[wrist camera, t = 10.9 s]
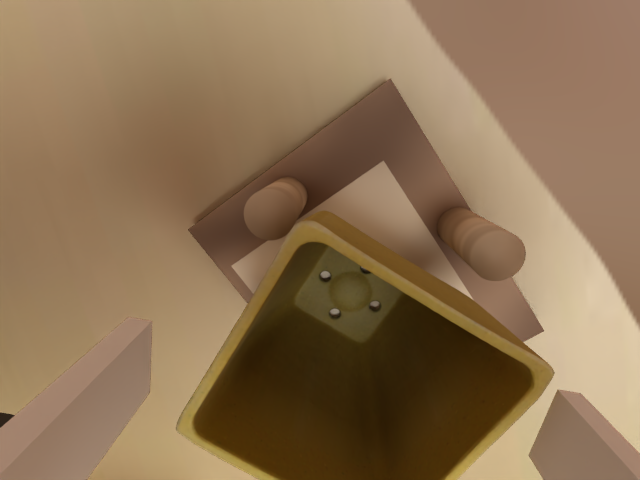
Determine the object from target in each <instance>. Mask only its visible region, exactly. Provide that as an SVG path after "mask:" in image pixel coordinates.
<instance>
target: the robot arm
mask: <svg viewBox="0 0 640 480" xmlns="http://www.w3.org/2000/svg"><path fill="white" fill-rule="evenodd" d="M151 345H152V321H150V320H144V319H138V318H132V317H128V318H126V319H125V320H124V321H123V322H122V323H121V324H120V325H118V326H117V327H116V328H115V329H114V330H113V331H111V332H110V333H109V334H108V335H107V336H106V337H105V338H103V339H102V340H101V341H100V342H99V343H98V344H96V345H95V346H94V347H93V348H92V349H91V350H90V351H88V352H87V353H86V354H85V355H84V356H83V357H81V358H80V359H79V360H78V361H77V362H76V363H75V364H73V365H72V366H71V367H70V368H69V369H68V370H67V371H65V372H64V373H63V374H62V375H61V376H60V377H58V378H57V379H56V380H55V381H54V382H53V383H52V384H50V385H49V386H48V387H47V388H46V389H45V390H43V391H42V392H41V393H40V394H39V395H38V396H37V397H35V398H34V399H33V400H32V401H31V402H30V403H29V404H27V405H26V406H25V407H24V408H23V409H22V410H20V411H19V412H18V413H17V414H16V415H12V414H6V413H0V480H87V479H88V477H89V476H90V475H91V473H92V472H93V471H94V469H95V468H96V466H97V465H98V464H99V462H100V461H101V459H102V458H103V457H104V455H105V454H106V453H107V451H108V450H109V448H110V447H111V446H112V444H113V443H114V441H115V440H116V439H117V437H118V436H119V435H120V433H121V432H122V430H123V429H124V428H125V426H126V425H127V423H128V422H129V421H130V419H131V418H132V417H133V415H134V414H135V412H136V411H137V410H138V408H139V407H140V405H141V404H142V403H143V401H144V400H145V399H146V397H147V396H148V394H149V393H150V374H151ZM529 457H530V458H531V460H532V462H533V463H534V465H535V467H536V468H537V470H538V471H539V473H540V475H541V476H542V478H543V479H544V480H640V453H639V452H638V451H637V450H636V449H635V448H634V447H633V446H632V445H631V444H630V443H629V442H628V441H627V440H626V439H625V438H624V437H623V436H622V435H621V434H620V433H619V432H618V431H617V430H616V429H615V428H614V427H613V426H612V425H611V424H610V423H609V422H608V421H607V420H606V419H605V418H604V417H603V415H602V414H601V413H600V412H599V411H598V410H597V409H596V408H595V407H594V406H593V405H592V404H591V403H590V402H589V401H588V400H587V399H586V398H585V397H584V396H583V395H582V394H581V393H576V392H570V391H564V390H557V392H556V394H555V397H554V399H553V401H552V403H551V406H550V408H549V410H548V413H547V415H546V417H545V419H544V422H543V424H542V426H541V428H540V431H539V433H538V435H537V438H536V440H535V442H534V444H533V447H532V449H531V451H530V453H529Z"/></svg>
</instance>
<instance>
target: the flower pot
mask: <svg viewBox="0 0 640 480" xmlns="http://www.w3.org/2000/svg"><path fill="white" fill-rule="evenodd" d="M361 266H362V267H363V268H365V269H366V270H368V271H370V272H363V271H362V270H361ZM324 271H327V272H329V273H330V275H331V277H330V279H329V280H322V278H321V276H320V274H321V273H322V272H324ZM373 301H378V302H379V303H380V307H379V308H378V309H376V310H373V309H371V308H370V303H371V302H373ZM332 309H338V310H339V311H340V314H339V316H337V317H332V316H331V315H330V311H331V310H332ZM553 376H554V371H553V368H552V367H551V366H550V365H549V364H548V363H547V362H546V361H545V360H543V359H542V358H541V357H540V356H538V355H537V354H536V353H535V352H534V351H533V350H531V349H530V348H529V347H528V346H527V345H525V344H524V343H523V342H522V341H521V340H520V339H519V338H517V337H516V336H515V335H514V334H513V333H512V332H511V331H510V330H508V329H507V328H506V327H505V326H504V325H502V324H501V323H500V322H499V321H498V320H497V319H495V318H494V317H493V316H492V315H491V314H490V313H488V312H487V311H486V310H485V309H484V308H482V307H481V306H480V305H479V304H478V303H476V302H475V301H474V300H472V299H471V298H470V297H468V296H467V295H465V294H464V293H462V292H461V291H459V290H457V289H456V288H454V287H452V286H450V285H449V284H447V283H445V282H443V281H442V280H440V279H438V278H437V277H435V276H433V275H432V274H430V273H428V272H427V271H425V270H423V269H421V268H420V267H418V266H416V265H415V264H413V263H411V262H410V261H408V260H407V259H405V258H403V257H402V256H400V255H399V254H397V253H395V252H394V251H392V250H390V249H389V248H387V247H386V246H384V245H382V244H381V243H379V242H378V241H376V240H374V239H373V238H371V237H370V236H368V235H366V234H365V233H363V232H362V231H360V230H359V229H357V228H355V227H354V226H352V225H351V224H349V223H348V222H346V221H345V220H343V219H342V218H340V217H338V216H337V215H335V214H333V213H331V212H329V211H319V212H317V213H315V214H313V215H311V216H309V217H307V218H305V219H304V220H302V221H300V222H298V223H297V224H296V225H295V226H293V228H292V229H291V231H290V232H289V234H288V235H287V237H286V239H285V240H284V242H283V244H282V246H281V248H280V249H279V251H278V253H277V255H276V256H275V258H274V260H273V262H272V263H271V265H270V267H269V269H268V270H267V272H266V274H265V275H264V277H263V279H262V280H261V282H260V284H259V285H258V287H257V289H256V291H255V292H254V294H253V296H252V297H251V299H250V301H249V303H248V304H247V306H246V308H245V310H244V311H243V313H242V314H241V316H240V318H239V319H238V321H237V323H236V324H235V326H234V328H233V329H232V331H231V333H230V334H229V336H228V338H227V339H226V341H225V343H224V344H223V346H222V348H221V349H220V351H219V352H218V354H217V356H216V357H215V359H214V361H213V363H212V364H211V366H210V368H209V369H208V371H207V372H206V374H205V376H204V377H203V379H202V381H201V382H200V384H199V386H198V387H197V389H196V391H195V392H194V394H193V396H192V397H191V399H190V400H189V402H188V404H187V405H186V407H185V408H184V410H183V412H182V414H181V416H180V417H179V419H178V422H177V426H176V430H177V432H178V433H179V434H181V435H182V436H184V437H185V438H186V439H188V440H189V441H191V442H192V443H194V444H195V445H197V446H199V447H200V448H202V449H204V450H206V451H207V452H209V453H211V454H212V455H214V456H216V457H218V458H219V459H221V460H223V461H225V462H227V463H229V464H231V465H232V466H234V467H236V468H238V469H240V470H242V471H244V472H246V473H248V474H249V475H251V476H253V477H255V478H257V479H259V480H458V478H459V477H460V476H461V475H462V474H463V473H464V472H465V471H466V470H467V469H468V468H469V467H470V466H471V465H472V464H473V463H474V462H475V461H476V460H477V459H478V458H479V457H480V456H481V455H482V454H483V453H484V452H485V451H486V450H487V449H488V448H489V447H490V446H491V445H492V444H493V443H494V442H495V441H496V440H498V439H499V438H500V437H501V436H502V435H503V434H504V433H505V432H506V431H507V430H508V429H509V428H510V427H511V426H512V425H513V424H514V423H515V422H516V421H517V420H518V419H519V418H520V417H521V416H522V415H523V414H524V413H525V412H526V411H527V410H528V409H529V407H530V406H532V405H533V404H534V403H535V402H536V401H537V400H538V398H539V397H540V396H541V395H542V393H543V392H544V390H545V389H546V387H547V386H548V384H549V383H550V381H551V379H552V377H553Z"/></svg>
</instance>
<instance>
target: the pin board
mask: <svg viewBox="0 0 640 480" xmlns="http://www.w3.org/2000/svg"><path fill="white" fill-rule="evenodd" d="M319 211H329V212H331V213H333V214H335V215H337V216H338V217H340V218H342V219H343V220H345V221H346V222H348V223H349V224H351V225H352V226H354V227H355V228H357V229H359V230H360V231H362V232H363V233H365V234H366V235H368V236H370V237H371V238H373V239H374V240H376V241H378V242H379V243H381V244H382V245H384V246H386V247H387V248H389V249H390V250H392V251H394V252H395V253H397V254H399V255H400V256H402V257H403V258H405V259H407V260H408V261H410V262H411V263H413V264H415V265H416V266H418V267H420V268H421V269H423V270H425V271H427V272H428V273H430V274H432V275H433V276H435V277H437V278H438V279H440V280H442V281H443V282H445V283H447V284H449V285H450V286H452V287H454V288H456V289H457V290H459V291H461V292H462V293H464V294H465V295H467V296H468V297H470V298H471V299H472V300H474V301H475V302H476V303H478V304H479V305H480V306H481V307H482V308H484V309H485V310H486V311H487V312H488V313H490V314H491V315H492V316H493V317H494V318H495V319H497V320H498V321H499V322H500V323H501V324H502V325H504V326H505V327H506V328H507V329H508V330H510V331H511V332H512V333H513V334H514V335H515V336H516V337H517V338H519V339H520V340H521V341H522V342H524V341H526V340H528V339H530V338H532V337H534V336H536V335H537V334H539V333H541V332H543V331H544V330H543V328H542V326H541V325H540V323H539V321H538V320H537V318H536V317H535V315H534V313H533V312H532V310H531V308H530V307H529V305H528V303H527V302H526V300H525V299H524V297H523V295H522V294H521V292H520V290H519V289H518V287H517V285H516V284H515V282H514V280H513V279H512V276H513V275H515V274H516V273H517V272H518V271H519V270H520V268H521V267H522V265H523V263H524V260H525V255H526V252H525V247H524V244H523V242H522V241H521V240H520V239H519V238H518V237H517V236H516V235H514V234H512V233H510V232H508V231H506V230H505V229H503V228H501V227H499V226H497V225H495V224H493V223H492V222H490V221H488V220H486V219H484V218H482V217H480V216H479V215H477V214H475V213H473V212H471V210H470V208H469V207H468V205H467V203H466V202H465V200H464V198H463V197H462V195H461V193H460V192H459V190H458V189H457V187H456V185H455V184H454V182H453V180H452V179H451V177H450V175H449V174H448V172H447V171H446V169H445V167H444V166H443V164H442V162H441V161H440V159H439V157H438V156H437V154H436V152H435V151H434V149H433V148H432V146H431V144H430V143H429V141H428V139H427V138H426V136H425V134H424V133H423V131H422V130H421V128H420V126H419V125H418V123H417V121H416V120H415V118H414V116H413V115H412V113H411V111H410V110H409V108H408V107H407V105H406V103H405V102H404V100H403V98H402V97H401V95H400V93H399V92H398V90H397V88H396V87H395V85H394V84H393V82H392V80H391V79H389V80H388V81H386V82H385V83H384V84H382V85H381V86H380V87H378V88H377V89H376V90H374V91H373V92H372V93H370V94H369V95H368V96H366V97H365V98H364V99H362V100H361V101H360V102H358V103H357V104H355V105H354V106H353V107H351V108H350V109H349V110H347V111H346V112H345V113H343V114H342V115H341V116H339V117H338V118H337V119H335V120H334V121H333V122H331V123H330V124H329V125H327V126H326V127H325V128H323V129H322V130H321V131H319V132H318V133H317V134H315V135H314V136H313V137H311V138H310V139H309V140H307V141H306V142H305V143H303V144H302V145H301V146H299V147H298V148H297V149H295V150H294V151H293V152H291V153H290V154H288V155H287V156H286V157H284V158H283V159H282V160H280V161H279V162H278V163H276V164H275V165H274V166H272V167H271V168H270V169H268V170H267V171H266V172H264V173H263V174H262V175H260V176H259V177H258V178H256V179H255V180H254V181H252V182H251V183H250V184H248V185H247V186H246V187H244V188H243V189H242V190H240V191H239V192H238V193H236V194H235V195H234V196H232V197H231V198H230V199H228V200H227V201H226V202H224V203H223V204H221V205H220V206H219V207H217V208H216V209H215V210H213V211H212V212H211V213H209V214H208V215H207V216H205V217H204V218H203V219H201V220H200V221H199V222H197V223H196V224H195V225H193V226H192V227H191V228H189V229H188V230H189V232H190V233H191V234H192V235H193V237H194V238H195V239H196V240H197V242H198V243H199V244H200V245H201V246H202V248H203V249H204V250H205V251H206V253H207V254H208V255H209V256H210V258H211V259H212V260H213V261H214V262H215V264H216V265H217V266H218V267H219V269H220V270H221V271H222V272H223V274H224V275H225V276H226V277H227V278H228V280H229V281H230V282H231V283H232V285H233V286H234V287H235V288H236V290H237V291H238V292H239V293H240V295H241V296H242V297H243V298H244V299H245V301H246V302H247V303H249V301H250V299H251V297H252V296H253V294H254V292H255V291H256V289H257V287H258V285H259V284H260V282H261V280H262V279H263V277H264V275H265V274H266V272H267V270H268V269H269V267H270V265H271V263H272V262H273V260H274V258H275V256H276V255H277V253H278V251H279V249H280V248H281V246H282V244H283V242H284V240H285V239H286V237H287V235H288V234H289V232H290V231H291V229H292V228H293V226H295V225H296V224H297V223H298V222H300V221H302V220H304V219H305V218H307V217H309V216H311V215H313V214H315V213H317V212H319ZM361 270H362V271H363V272H370V271H368V270H366V269H365V268H363V267H362V266H361ZM320 276H321V278H322V280H329V279H330V277H331V275H330V273H329V272H327V271H324V272H322V273H321V274H320ZM379 307H380V303H379V302H378V301H373V302H371V303H370V308H371V309H373V310H376V309H378V308H379ZM339 314H340V311H339V310H338V309H332V310H331V311H330V315H331V316H332V317H337V316H339Z"/></svg>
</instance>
